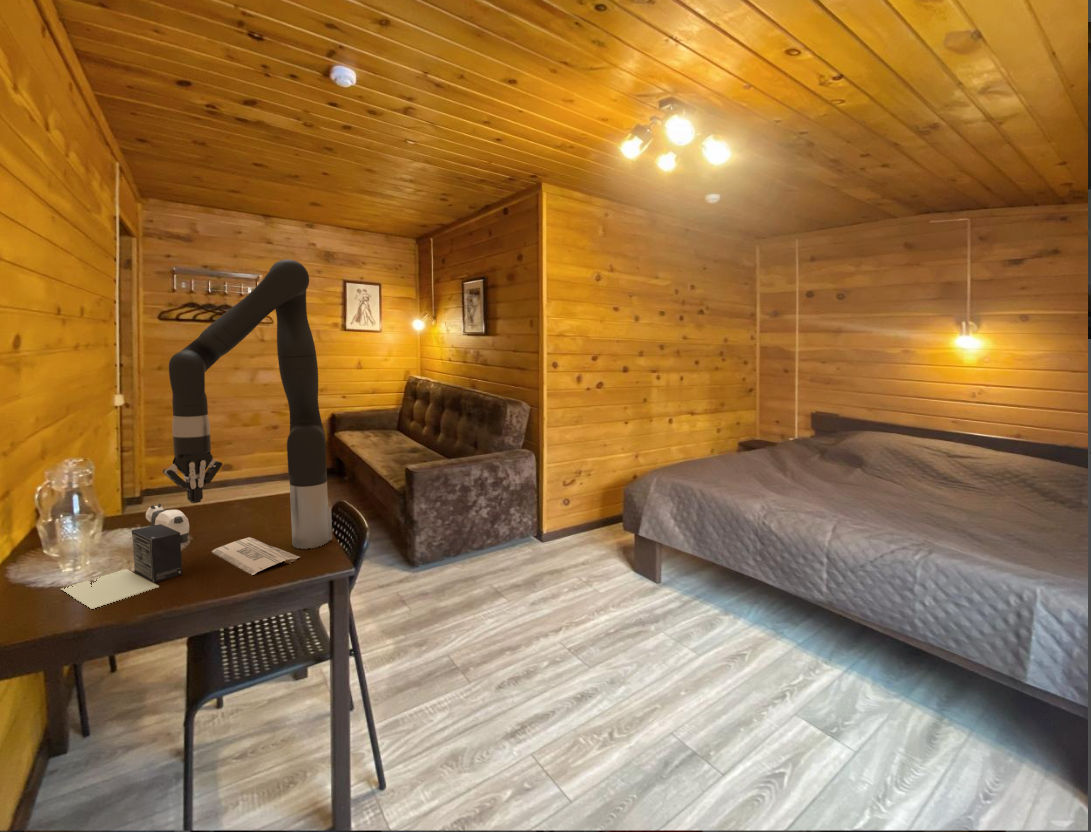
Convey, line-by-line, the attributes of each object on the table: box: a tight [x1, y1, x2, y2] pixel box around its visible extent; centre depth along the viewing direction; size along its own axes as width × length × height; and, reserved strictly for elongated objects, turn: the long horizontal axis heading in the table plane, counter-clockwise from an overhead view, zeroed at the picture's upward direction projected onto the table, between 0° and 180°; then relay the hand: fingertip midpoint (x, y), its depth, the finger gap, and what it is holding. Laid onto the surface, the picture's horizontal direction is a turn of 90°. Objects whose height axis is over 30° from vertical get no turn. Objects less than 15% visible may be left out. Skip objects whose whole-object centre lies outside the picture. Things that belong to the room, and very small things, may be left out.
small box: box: [131, 524, 183, 584], centre depth 122 cm, size 11×6×10 cm, turn 58°
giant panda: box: [145, 503, 190, 543], centre depth 143 cm, size 15×6×10 cm, turn 65°
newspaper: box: [211, 536, 300, 576], centre depth 134 cm, size 23×12×2 cm, turn 55°
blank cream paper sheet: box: [60, 568, 160, 610], centre depth 115 cm, size 12×16×1 cm
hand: (195, 502), depth 129 cm, fingers closed
